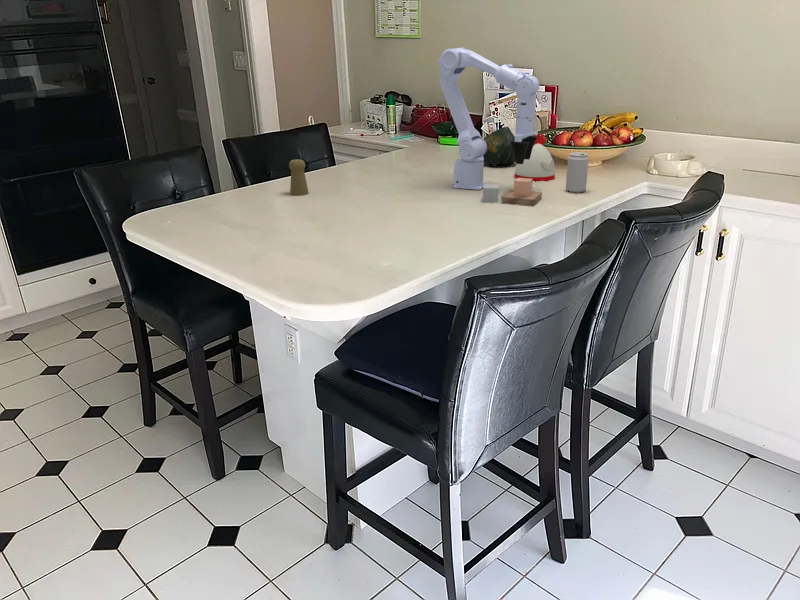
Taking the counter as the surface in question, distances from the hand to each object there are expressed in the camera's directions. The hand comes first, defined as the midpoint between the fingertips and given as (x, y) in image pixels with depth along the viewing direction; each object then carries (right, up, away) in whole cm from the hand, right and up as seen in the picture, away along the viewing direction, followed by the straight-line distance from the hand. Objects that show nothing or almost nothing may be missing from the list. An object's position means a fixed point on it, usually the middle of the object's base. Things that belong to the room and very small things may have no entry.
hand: (522, 161), depth 207 cm
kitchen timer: (+8, -1, +23) cm, 25 cm away
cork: (-72, -9, +8) cm, 73 cm away
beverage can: (+18, -9, +4) cm, 20 cm away
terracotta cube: (-1, -12, -7) cm, 14 cm away
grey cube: (-11, -13, -5) cm, 18 cm away
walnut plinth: (-2, -13, -6) cm, 15 cm away
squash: (-1, +8, +44) cm, 45 cm away
